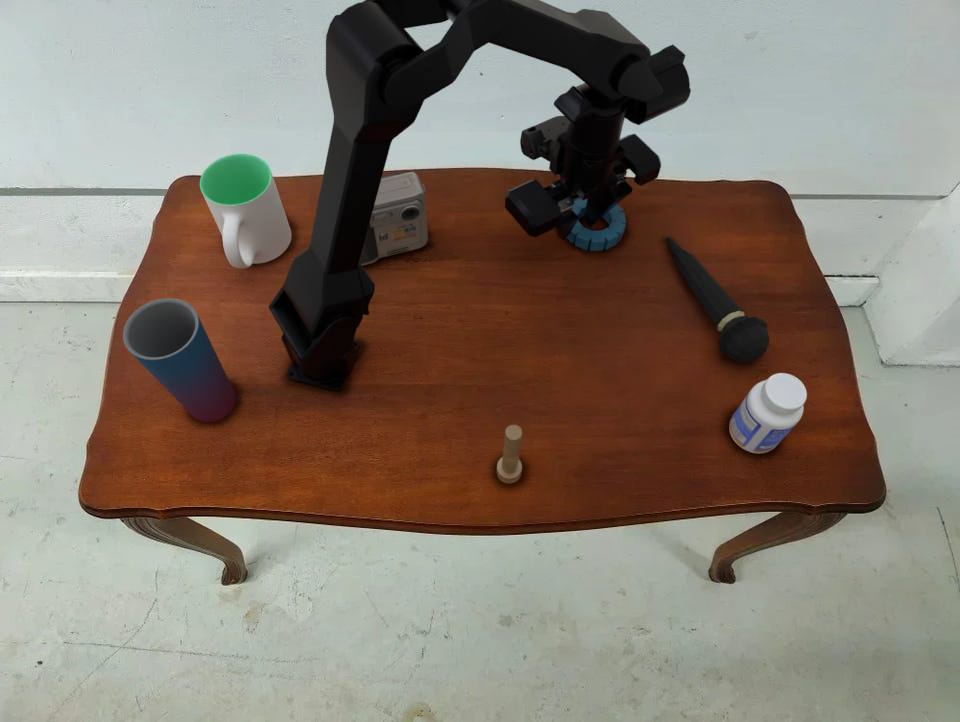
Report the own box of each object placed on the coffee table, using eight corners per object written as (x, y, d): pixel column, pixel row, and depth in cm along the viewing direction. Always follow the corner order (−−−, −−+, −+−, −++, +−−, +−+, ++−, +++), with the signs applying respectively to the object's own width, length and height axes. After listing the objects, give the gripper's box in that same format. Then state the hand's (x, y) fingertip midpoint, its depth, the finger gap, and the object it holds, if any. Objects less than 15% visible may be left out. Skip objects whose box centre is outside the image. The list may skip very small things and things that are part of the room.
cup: (231, 434, 76) (181, 365, 63) (171, 424, 76) (109, 353, 64) (252, 380, 79) (209, 303, 66) (195, 370, 80) (141, 292, 67)
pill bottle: (783, 421, 77) (821, 378, 69) (771, 462, 75) (809, 423, 67) (734, 402, 79) (765, 357, 70) (721, 443, 76) (752, 401, 68)
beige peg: (493, 480, 74) (496, 441, 65) (499, 457, 75) (503, 416, 66) (518, 486, 73) (524, 447, 65) (523, 463, 75) (530, 423, 66)
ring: (565, 251, 89) (567, 242, 88) (559, 205, 93) (561, 195, 91) (627, 250, 89) (629, 241, 88) (618, 204, 93) (621, 194, 92)
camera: (343, 272, 87) (329, 217, 78) (335, 238, 90) (320, 180, 81) (433, 252, 89) (429, 196, 80) (422, 219, 92) (417, 161, 83)
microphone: (651, 263, 92) (735, 379, 81) (645, 235, 87) (733, 354, 76) (689, 243, 92) (779, 357, 80) (686, 214, 87) (780, 331, 75)
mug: (284, 288, 86) (262, 232, 77) (217, 290, 86) (188, 233, 77) (294, 213, 92) (275, 153, 83) (232, 214, 92) (205, 154, 83)
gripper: (616, 64, 82) (595, 164, 95) (479, 122, 77) (478, 219, 90) (678, 120, 77) (647, 218, 91) (537, 186, 72) (527, 279, 86)
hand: (574, 231), depth 89 cm, fingers open, 4 cm apart
